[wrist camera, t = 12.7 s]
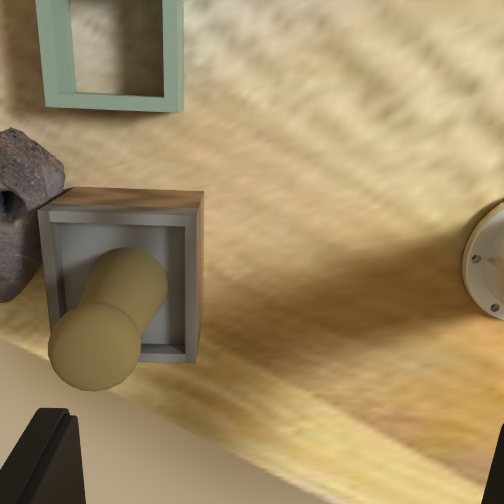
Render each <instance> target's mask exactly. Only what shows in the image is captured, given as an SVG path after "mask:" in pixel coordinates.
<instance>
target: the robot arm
mask: <svg viewBox="0 0 504 504" xmlns="http://www.w3.org/2000/svg"><path fill="white" fill-rule="evenodd" d="M473 256H474V257H473ZM462 274H463V280H464V284H465V286H466V289H467V291H468V293H469V294H470V296H471V297H472V299H473V300H474V301H475V302H476V303H477V304H478V305H479V306H480V307H481V308H482V309H483V310H484V311H486V312H487V313H488V314H490V315H492V316H494V317H496V318H499V319H501V320H504V202H502V203H500V204H499V205H498V206H496V207H495V208H494V209H492V210H491V211H490V212H489V213H488V214H487V215H486V216H485V217H484V218H483V219H482V220H481V221H480V222H479V223H478V225H477V226H476V228H475V229H474V231H473V232H472V234H471V236H470V238H469V240H468V242H467V244H466V247H465V251H464V255H463V261H462ZM0 504H86V500H85V490H84V478H83V469H82V457H81V447H80V437H79V426H78V418H77V416H72V415H71V416H70V413H69V411H68V409H66V408H40V409H38V410H37V411H36V413H35V414H34V416H33V418H32V419H31V421H30V423H29V424H28V426H27V427H26V429H25V431H24V432H23V434H22V435H21V437H20V439H19V440H18V442H17V444H16V445H15V447H14V448H13V450H12V452H11V453H10V455H9V457H8V458H7V460H6V462H5V463H4V465H3V466H2V468H1V470H0ZM481 504H504V424H503V425H502V427H501V431H500V434H499V438H498V442H497V446H496V450H495V453H494V457H493V461H492V465H491V468H490V472H489V476H488V480H487V484H486V487H485V491H484V495H483V499H482V503H481Z"/></svg>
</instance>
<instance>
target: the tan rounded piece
mask: <svg viewBox="0 0 504 504" xmlns="http://www.w3.org/2000/svg"><path fill="white" fill-rule="evenodd" d="M168 286H169V282H168V278H167V274H166V271H165V270H164V268H163V267H162V265H161V263H160V262H159V261H158V260H157V259H156V258H154V257H153V256H152V255H151V254H150V253H147V252H145V251H143V250H140V249H138V248H129V247H122V248H117V249H112V250H110V251H109V252H107V253H105V254H103V255H102V256H101V257H100V258H99V259H98V260H97V261H96V262H95V264H94V266H93V268H92V271H91V273H90V276H89V279H88V281H87V284H86V286H85V289H84V291H83V294H82V296H81V299H80V301H79V304H78V306H77V307H76V308H74V309H72V310H70V311H69V312H67V313H65V314H64V316H63V317H62V318H61V319H60V320H59V321H58V322H57V323H56V325H55V326H54V327H53V330H52V333H51V335H50V338H49V342H48V356H49V359H50V362H51V364H52V367H53V369H54V371H55V372H56V373H57V375H58V376H59V377H60V378H61V379H62V380H63V381H65V382H66V383H67V384H69V385H70V386H72V387H75V388H78V389H80V390H85V391H100V390H105V389H109V388H112V387H114V386H116V385H118V384H120V383H122V382H123V381H124V380H125V379H126V378H127V377H128V376H129V375H130V374H131V372H132V371H133V370H134V368H135V366H136V364H137V362H138V360H139V357H140V352H141V335H142V334H143V332H144V331H145V329H146V328H147V327H148V325H149V324H150V322H151V321H152V319H153V318H154V316H155V315H156V314H157V312H158V311H159V309H160V308H161V306H162V305H163V303H164V301H165V299H166V297H167V295H168Z"/></svg>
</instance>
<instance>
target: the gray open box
mask: <svg viewBox="0 0 504 504" xmlns="http://www.w3.org/2000/svg"><path fill="white" fill-rule="evenodd" d="M37 212H38V221H39V230H40V240H41V249H42V258H43V267H44V276H45V285H46V294H47V303H48V312H49V321H50V330H51V333H52V330H53V327H54V326H55V325H56V323H57V322H58V321H59V320H60V319H61V318H62V317H63V316H64V314H65V313H67V312H69V311H70V310H72V309H74V308H76V307H77V306H78V304H79V301H80V299H81V296H82V294H83V291H84V289H85V286H86V284H87V281H88V279H89V276H90V273H91V271H92V268H93V266H94V264H95V262H96V261H97V260H98V259H99V258H100V257H101V256H102V255H103V254H105V253H107V252H109V251H110V250H112V249H117V248H122V247H129V248H138V249H140V250H143V251H145V252H147V253H150V254H151V255H152V256H153V257H154V258H156V259H157V260H158V261H159V262H160V263H161V265H162V267H163V268H164V270H165V271H166V274H167V278H168V282H169V286H168V295H167V297H166V299H165V301H164V303H163V305H162V306H161V308H160V309H159V311H158V312H157V314H156V315H155V316H154V318H153V319H152V321H151V322H150V324H149V325H148V327H147V328H146V329H145V331H144V332H143V334H142V335H141V352H140V357H139V360H138V362H156V363H196V358H197V351H198V345H199V338H200V331H201V325H202V318H203V241H204V191H177V190H149V189H121V188H94V187H74V188H72V189H71V190H69V191H68V192H66V193H64V194H63V195H61V196H60V197H58V198H56V199H55V200H53V201H52V202H50V203H48V204H47V205H45V206H44V207H42V208H41V209H39V210H37Z"/></svg>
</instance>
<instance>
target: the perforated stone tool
mask: <svg viewBox="0 0 504 504" xmlns="http://www.w3.org/2000/svg"><path fill="white" fill-rule="evenodd" d="M64 181H65V174H64V167H63V164H62V163H61V162H60V161H59V160H57V159H56V157H55V156H53V155H51V154H50V153H49V152H48V151H47V150H45V149H44V148H43V147H42V146H40V145H39V144H38V143H37V142H35V141H34V140H32V139H30V138H29V137H27V136H26V135H25V134H24V133H23V132H22V131H19V130H17V129H13V128H12V127H10V129H7V130H5V131H2V132H0V303H4V302H9V301H11V300H12V299H14V298H15V297H16V296H17V295H19V294H20V293H21V291H22V290H23V289H24V288H25V287H26V285H27V284H28V283H29V281H30V280H31V279H32V277H33V276H34V274H35V273H36V271H37V269H38V268H39V266H40V264H41V261H42V259H43V258H42V249H41V240H40V230H39V221H38V212H37V210H39V209H41V208H42V207H44V206H45V205H47V204H48V203H50V202H52V201H53V200H55V199H56V198H58V197H60V196H61V194H62V191H63V187H64Z"/></svg>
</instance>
